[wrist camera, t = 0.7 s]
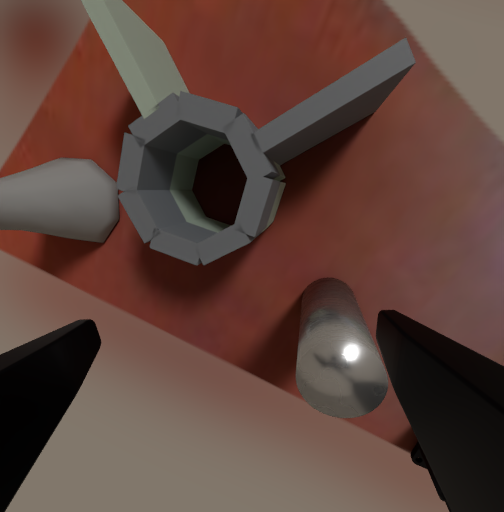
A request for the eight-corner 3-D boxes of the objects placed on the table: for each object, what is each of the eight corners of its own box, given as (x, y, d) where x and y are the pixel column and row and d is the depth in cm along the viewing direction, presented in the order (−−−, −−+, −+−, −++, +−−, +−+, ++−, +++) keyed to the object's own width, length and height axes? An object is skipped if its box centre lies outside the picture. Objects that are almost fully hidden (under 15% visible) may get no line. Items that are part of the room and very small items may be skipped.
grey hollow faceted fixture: (210, 254, 22) (167, 283, 15) (162, 164, 21) (92, 152, 14) (396, 162, 18) (448, 145, 11) (346, 42, 17) (369, -55, 10)
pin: (364, 288, 20) (404, 362, 11) (343, 333, 21) (365, 431, 13) (312, 270, 20) (313, 327, 12) (294, 315, 22) (284, 396, 13)
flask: (112, 255, 24) (-19, 299, 14) (44, 222, 25) (-123, 243, 15) (131, 177, 22) (-7, 168, 12) (57, 143, 22) (-129, 109, 13)
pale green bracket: (301, 210, 20) (295, 220, 13) (210, 254, 22) (167, 283, 15) (204, 8, 18) (140, -100, 11) (117, 80, 20) (21, 26, 14)
